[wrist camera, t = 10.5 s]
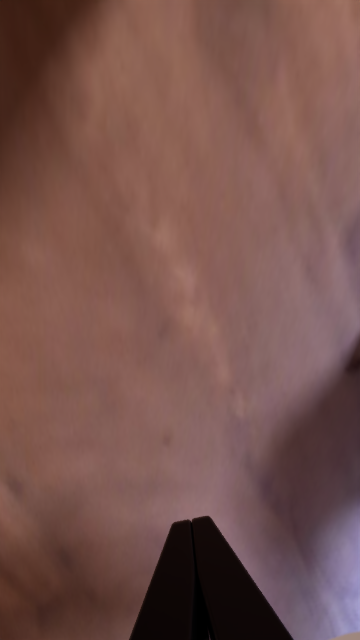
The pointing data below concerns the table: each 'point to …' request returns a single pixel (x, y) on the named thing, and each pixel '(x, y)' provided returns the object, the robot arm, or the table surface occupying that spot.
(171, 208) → the table surface
